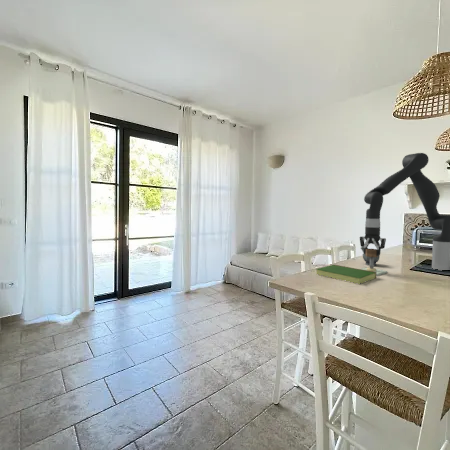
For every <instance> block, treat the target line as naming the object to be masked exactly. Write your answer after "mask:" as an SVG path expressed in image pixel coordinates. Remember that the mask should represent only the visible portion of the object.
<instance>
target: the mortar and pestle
mask: <svg viewBox="0 0 450 450" xmlns="http://www.w3.org/2000/svg"><path fill="white" fill-rule="evenodd" d="M360 250H361V251H362V259H363V261H364V262H365V265H366V266H370V257H367V256H366V254H365V253H364V247H361V246H360ZM380 256H381V254H380V255H379V256H378V257H374V267H375V266H377V263H378V262H379V260H380Z"/></svg>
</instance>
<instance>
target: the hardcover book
mask: <svg viewBox="0 0 450 450" xmlns="http://www.w3.org/2000/svg"><path fill="white" fill-rule="evenodd" d="M315 270H316V275H317V274H319V275H318V276H321V275H323V276H322V277H325V276H328V277H327V278H329V277H332V278H331V279H334V278H336V279H335V280H338V279H341V280H340V281H343V280H346V281H345V282H347V281H350V282H349V283H351V282H354V283H353V284H356V283H358V284H357V285H361V284H364V283H366V282H365V281H367V282H369V281H371V280H374V278H375V279H377V276H376V273H377V272H373V271H367V270H362V269H361V268H354V267H349V266H345V265H340V264H339V265H338V264H331V265H327V266H323V267H319V268H316V269H315ZM368 280H369V281H368ZM363 282H364V283H363ZM360 283H361V284H360Z"/></svg>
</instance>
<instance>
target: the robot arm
mask: <svg viewBox="0 0 450 450" xmlns="http://www.w3.org/2000/svg"><path fill="white" fill-rule="evenodd" d="M401 163H402V164H401V165H402V167H403V168H401V169H400V170H399V171H397V172H395V173H393V174H391V175H389V176H388V177H387V178H385V179H384V180H383V181H382V182H381V183H380V184H378V185H377V186H376V187H373V188H372V189H371V190H369V191H367V193H366V194H365V195H364V198H363V200H364V202H365V204H367V205H369V208H368V209H366V212H365V224H364V226H365V227H364V229H365V231H364V234H365V235H364V236H360V237H359V243H360V244H359V245H360V248H361V247H364V253H365V254H366V249H369V248H368V247H369V246H370V245H374V247H375V249H377V252H376V256H379V255H380V256H381V250H383V249H385V246H386V242H387V239H386V238H385V237H384V238H383V237H381V209H382V206H383V204H384V196H385V195H388V194H390V193H391V192H392V191H394V190H395V189H396V188H397V187H398V186H399V185H400V184H402V183H403V182H404V181H406V180H408V178H409V180H411V183H412V185H413V186H414V189H415V191H416V193H417V196H418V198H419V200H420V201H421V203H422V206H423V208H424V210H425V213H426V217H427V219H428V223H429V224H430V225H429V226H431V228H432V229H433V230H437V231H439V230H440V231H441V233H439V234H437V235H434V236H433V237H432V250H431V252H432V253H431V255H432V256H431V269H432V268H433V269H432V270H435V269H438V270H437V271H442V270H450V214H440V213H439V211H438V209H437V208H438V207H437V206H438V203H439V200H440V191H439V190H438V187H437V186H436V184H435V183H434V182H433V181H432V180H431V179H430V178H428V177H427V176H426V175H425V174H424V173H423V171H422V169H424V168H425V167H426V166H427V165H428V163H429V156H428V154H427V153H424V152H415V153H410V154H406V155H404V157H403V159H402V162H401ZM364 253H363V254H364Z"/></svg>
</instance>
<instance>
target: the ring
mask: <svg viewBox="0 0 450 450" xmlns="http://www.w3.org/2000/svg"><path fill="white" fill-rule="evenodd" d="M376 252H377V248H368V249H366V256H367V257H378V256H376Z"/></svg>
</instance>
